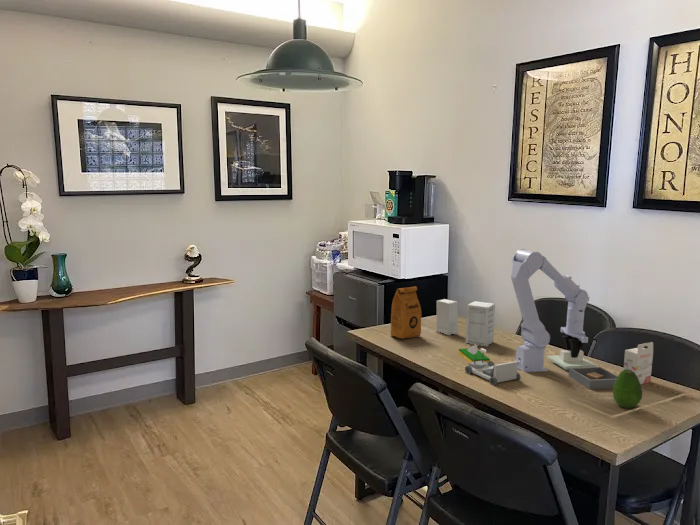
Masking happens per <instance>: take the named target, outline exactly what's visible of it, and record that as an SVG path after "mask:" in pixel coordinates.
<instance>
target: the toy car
mask: <svg viewBox="0 0 700 525" xmlns="http://www.w3.org/2000/svg"><path fill="white" fill-rule="evenodd" d="M466 349H467V348H466ZM477 350H478V345H473V344H469V347H468V349H467V351H469V352H470V353H471V354H475V358H474V362H470V363H469V362H468V365H466V366H465V367H464V371H465V373H466V374H468V373H469V374H468V375H471V374H474V375H477V376H479V377H481V378H483V379H485V380H487V381H489V384H490V385H492V386H497V385H498V383H503V382H507V381H512V380H516V381H521V374H520V373H519V372H518V370H519V369H518V362H517V361H516V360H514V361H508V362H503V363H498V364H495V363H494V362H493V361H492V360H490V361H489V362H488V363H486V362H484V361H483V356H484V355H485V354H486V353H487V349H485V348H479V351H480V352H481V353H483V354H482V361H476V353H477ZM475 361H476V362H475Z"/></svg>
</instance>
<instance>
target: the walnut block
mask: <svg viewBox="0 0 700 525" xmlns="http://www.w3.org/2000/svg"><path fill="white" fill-rule="evenodd" d="M586 377H587V378H588V379H590V380H596V379H604V376H603V375H601V374H598V373H595V372H592V373H588V374H586Z"/></svg>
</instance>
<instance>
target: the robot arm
mask: <svg viewBox="0 0 700 525" xmlns="http://www.w3.org/2000/svg"><path fill="white" fill-rule="evenodd" d="M511 261H512V268H511V275H510V277H511V278H510V279H511V283H512V285H513V289H514V292H515V296H516V299H517V303H518V307H519V310H520V314H521V317H522V321H523V322H522V323H521V324H520V327H521V332H520V336H521V338H522V340H523V344H522V345H519V346H517V347H516V350H515V361H517V362H518V369H517V370H519V371H523V372H524V373H528V372H529V373H532V372H535V373H536V372H548V371H549V369H547V368H545V367H544V366H545V365H544V364H545V351H546V350H545V349H546V348H547V346H548V345H549V344H550V341H551V335H550V333H549V332H548V331H547V330H546V327H545V325H544V324H543V323H542V322H541V320H540V317H539V313H538V310H537V307H536V303H535V299H534V296H533V292H532V289H531V285H530V280H529V279H530V277H532V276H533V275H534V274H535V273H537V271H539V270H540V271H541V272H542V273H543V274H545V275H546V276H547V277H549V279H551V280H552V281H553V286H554V287H555V288H556V289H557V290H558V291H559V292H560V293H562V294H561V295H564V298H565V300H566V301H568V302H567V312H566V323H565V324H566V326H561V327H560V333H561V334H562V333H563V334H565V335H561V338H562V341H563V342H564V346H565V347H564V348H565V350H571V357H572V358H577V357H578V354H579V352H580V350H581V349H582V347H583V346H584V345H585V343H586V344H587V343H589V337H588V336H586V332H585V331H584V320H585V310H586V308H587V304H588V302H589V301H590V296H589V294H588V292H587V290H585V289H582V288H581V287H580V285H579V284H578V283H575V282H574V280H572V279H573V278H572V276H570V275H569V274H568V275H567V274H561V273H560V271H558V270H557V269H556V267H555V266H553V264H552V263H551V262H550V261H549V260H548V259H547V257H546V256H544V255H542V253H541V252H539V251H532V250H528V249H525V248H520V249H518V250H516V251H515V253H514V255H513V256H512V258H511Z"/></svg>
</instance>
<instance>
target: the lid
mask: <svg viewBox="0 0 700 525" xmlns="http://www.w3.org/2000/svg"><path fill="white" fill-rule="evenodd" d="M559 351H560V352H559V354H556V355H554V354H553V355H546V359H549V360H550V361H551V362H552V363H554V364H555V365H557V366H558V367H561V368H562V369H564V370H566V371H569V368H586V367H598V366H597V364H595V363H593V362H592V361H590V360H588V359H586V358H584V355H585V354H584V353H585V352H584V351H583V350H581V349H580V352H579V354H578V357H577V358H572V357H571V350H566V349H565V350H564V349H563V350H559Z"/></svg>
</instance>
